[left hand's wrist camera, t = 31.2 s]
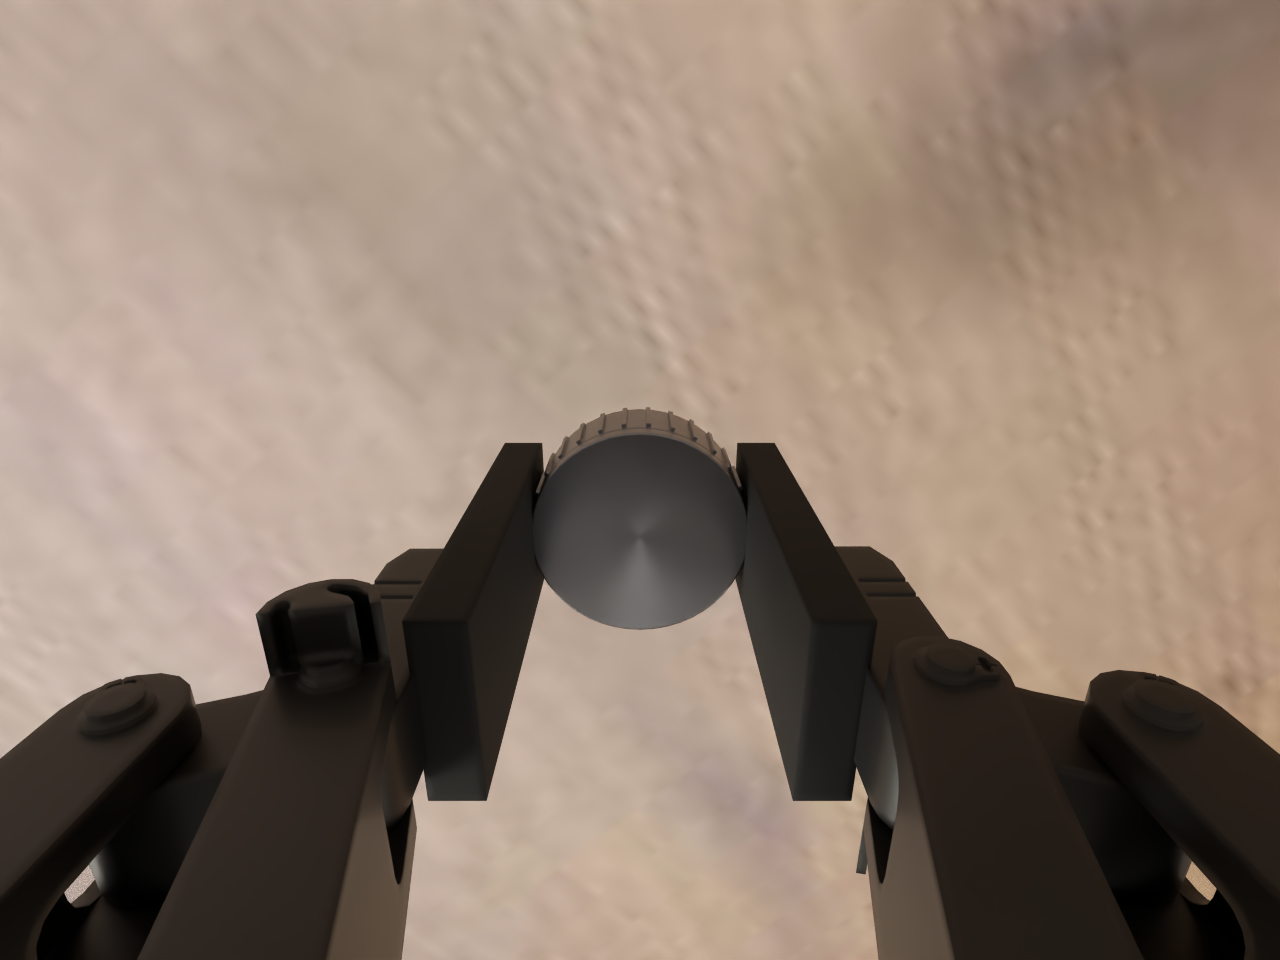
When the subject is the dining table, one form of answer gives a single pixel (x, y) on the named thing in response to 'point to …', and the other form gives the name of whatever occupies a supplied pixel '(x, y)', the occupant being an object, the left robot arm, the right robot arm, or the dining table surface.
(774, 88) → the dining table surface
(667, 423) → the cap
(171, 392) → the dining table surface
